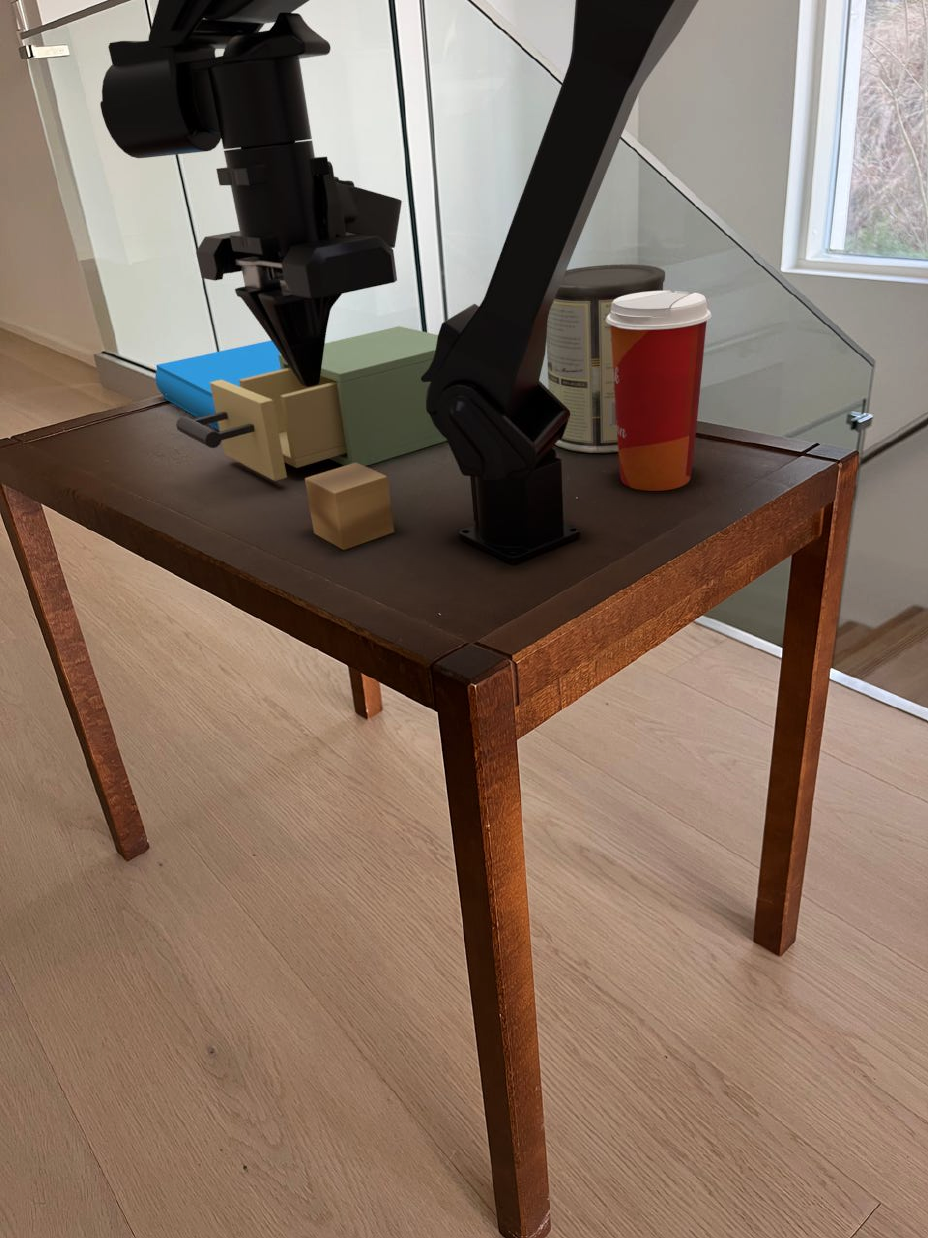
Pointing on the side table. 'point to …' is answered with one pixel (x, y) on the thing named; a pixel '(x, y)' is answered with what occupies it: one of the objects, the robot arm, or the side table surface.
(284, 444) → the drawer
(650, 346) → the paper cup
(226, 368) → the book
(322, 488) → the block
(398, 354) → the cabinet
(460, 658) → the side table surface
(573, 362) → the coffee can
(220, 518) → the side table surface
